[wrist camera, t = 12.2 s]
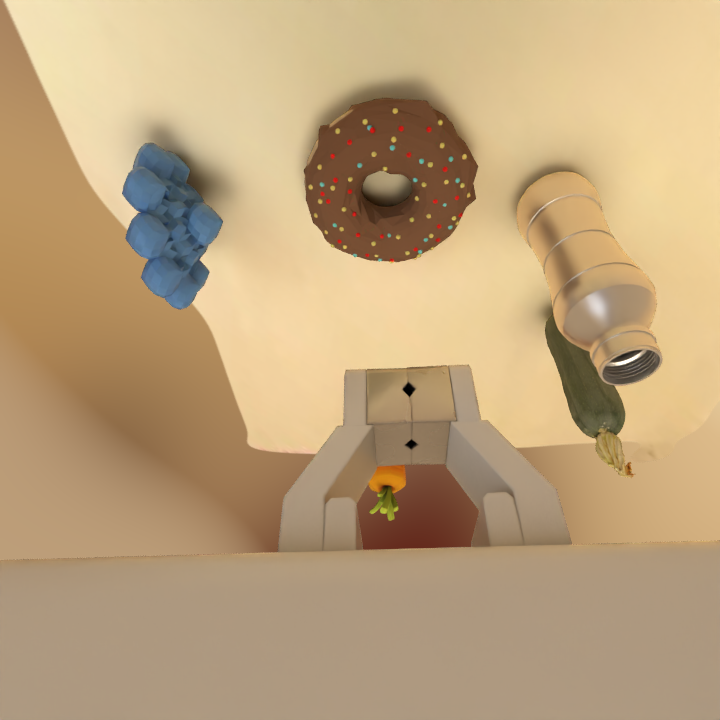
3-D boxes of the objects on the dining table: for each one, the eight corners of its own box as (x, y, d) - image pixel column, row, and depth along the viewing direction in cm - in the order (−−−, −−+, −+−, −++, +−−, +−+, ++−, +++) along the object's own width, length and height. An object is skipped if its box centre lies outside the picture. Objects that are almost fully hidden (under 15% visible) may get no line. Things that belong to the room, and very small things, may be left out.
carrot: (397, 424, 72) (403, 527, 62) (362, 420, 71) (362, 524, 61) (406, 403, 68) (414, 510, 58) (369, 399, 67) (371, 506, 57)
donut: (421, 258, 50) (425, 291, 47) (286, 210, 46) (281, 244, 43) (505, 122, 40) (519, 152, 37) (344, 47, 36) (342, 73, 33)
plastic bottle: (496, 200, 45) (554, 371, 32) (564, 144, 42) (661, 313, 28) (537, 240, 49) (605, 412, 35) (603, 193, 45) (707, 364, 32)
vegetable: (529, 307, 55) (584, 473, 42) (566, 286, 53) (636, 453, 40) (549, 328, 58) (607, 491, 44) (586, 308, 55) (658, 474, 42)
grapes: (254, 239, 49) (234, 328, 41) (186, 247, 49) (153, 337, 41) (211, 115, 40) (175, 197, 32) (129, 126, 41) (74, 210, 33)
